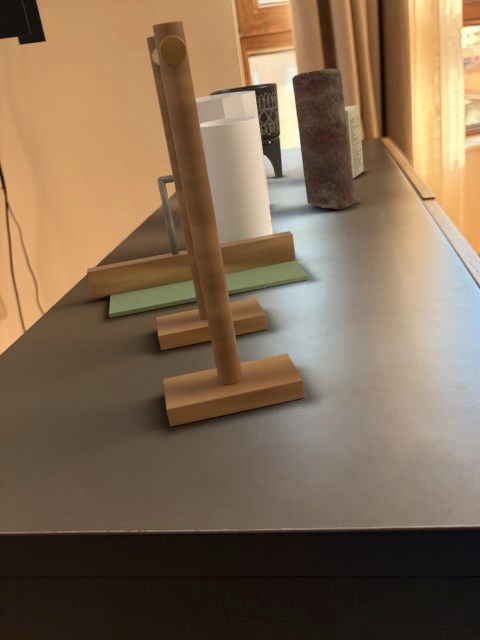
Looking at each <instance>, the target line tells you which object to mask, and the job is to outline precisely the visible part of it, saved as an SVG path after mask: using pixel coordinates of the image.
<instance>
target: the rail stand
mask: <svg viewBox="0 0 480 640" xmlns="http://www.w3.org/2000/svg"><path fill="white" fill-rule="evenodd" d="M152 32H153V35H152V36H147V37H146V43H147V48H148V49H147V50H148V54H149V58H150V59H149V60H150V63H151V69H152V74H153V81H154V85H155V90H156V96H157V102H158V105H159V111H160V116H161V121H162V127H163V133H164V137H165V142H166V147H167V153H168V158H169V163H170V168H171V175H173V179H174V182H173V184H174V189H175V195H176V200H177V205H178V210H179V216H180V221H181V227H182V231H183V236H184V241H185V247H186V250H187V253H188V258H189V263H190V268H191V273H192V279H193V284H194V289H195V294H196V300H197V301H196V306H197V308H196V309H191V310H186V311H180V312H175V313H171V314H165V315H161V316H156V317H155V319H156V320H155V321H156V329H157V337H158V342H159V346H160V350H161V351H166V350H171V349H176V348H181V347H185V346H190V345H191V346H192V345H195V344H201V343H206V342H211V347H212V353H213V358H214V364H215V367H214V368H210V369H206V370H205V369H204V370H200V371H195V372H191V373H187V374H182V375H177V376H172V377H171V376H170V377H167V378H163V379H162V383H163V392H164V400H165V408H166V413H167V417H168V418H167V419H168V423H169V426H170V427H176V426H181V425H184V424H189V423H193V422H199V421H203V420H204V421H205V420H208V419H213V418H217V417H221V416H227V415H231V414H235V413H241V412H245V411H251V410H254V409H258V408H263V407H267V406H273V405H277V404H281V403H287V402H291V401H296V400H300V399H305V397H306V394H305V392H306V391H305V385H304V379H303V378H302V376H301V374H300V373H299V371H298V369H297V368H296V365H295V364H294V362H293V360H292V359H291V357H290V355H289V353H288V352H287V353H282V354H277V355H273V356H268V357H263V358H259V359H254V360H253V359H252V360H248V361H244V362H241V361H240V355H239V349H238V343H237V338H236V336H239V335H240V336H241V335H246V334H249V333H254V332H255V333H256V332H260V331H265V330H268V328H269V327H268V321H267V315H266V313H265V310H264V309H263V307H262V306H261V304H260V302H259V300H258V298H257V297H252V298H246V299H242V300H236V301H232V302H230V295H228V289H227V283H226V277H225V271H224V265H223V259H222V253H221V247H220V241H219V235H218V229H217V224H216V218H215V212H214V206H213V200H212V194H211V188H210V182H209V176H208V170H207V164H206V158H205V152H204V146H203V140H202V135H201V129H200V123H199V117H198V111H197V105H196V99H195V98H196V93H195V88H194V81H193V75H192V70H191V64H190V59H189V52H188V46H187V41H186V34H185V28H184V23H183V20H176V21H167V22H161V23H156V24H153V25H152Z"/></svg>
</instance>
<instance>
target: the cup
mask: <svg viewBox="0 0 480 640" xmlns="http://www.w3.org/2000/svg"><path fill="white" fill-rule="evenodd" d="M200 129H201V135H202V140H203V146H204V152H205V158H206V164H207V170H208V176H209V182H210V188H211V194H212V200H213V206H214V212H215V218H216V224H217V229H218V235H219V241H220V244H223V243H228V242H234V241H239V240H244V239H250V238H255V237H261V236H266V235H271V234H274V231H273V224H272V223H273V222H272V217H271V208H270V206H269V201H270V199H269V200H268V194H269V192H268V193H267V186H268V184H267V185H266V179H267V177H266V178H265V171H266V169H265V170H264V164H265V162H264V163H263V156H264V154H263V155H262V148H261V140H260V133H259V125H258V119H257V116H244V117H235V118H227V119H221V120H215V121H210V122H205V123H201V124H200Z"/></svg>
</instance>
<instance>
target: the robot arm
mask: <svg viewBox="0 0 480 640" xmlns="http://www.w3.org/2000/svg"><path fill="white" fill-rule="evenodd" d="M13 38H17V39H18V44H19V45H20V46H22V45H31V44H37V43H44V42H47V38H46V34H45V30H44V26H43V22H42V19H41V14H40V9H39V5H38V2H37V0H0V40H5V39H13Z"/></svg>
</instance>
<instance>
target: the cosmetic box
mask: <svg viewBox="0 0 480 640" xmlns="http://www.w3.org/2000/svg"><path fill="white" fill-rule="evenodd" d="M344 106H345V105H344ZM345 115H346V125H347V134H348V144H349V153H350V162H351V169H352V179H355V178H356V177H357V176H359V175H360V174H362V173H363V172H364V169H365V168H364V158H363V157H364V156H363V145H362V144H363V143H362V130H361V116H360V105H359V104H357V105H347V106H345Z"/></svg>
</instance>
